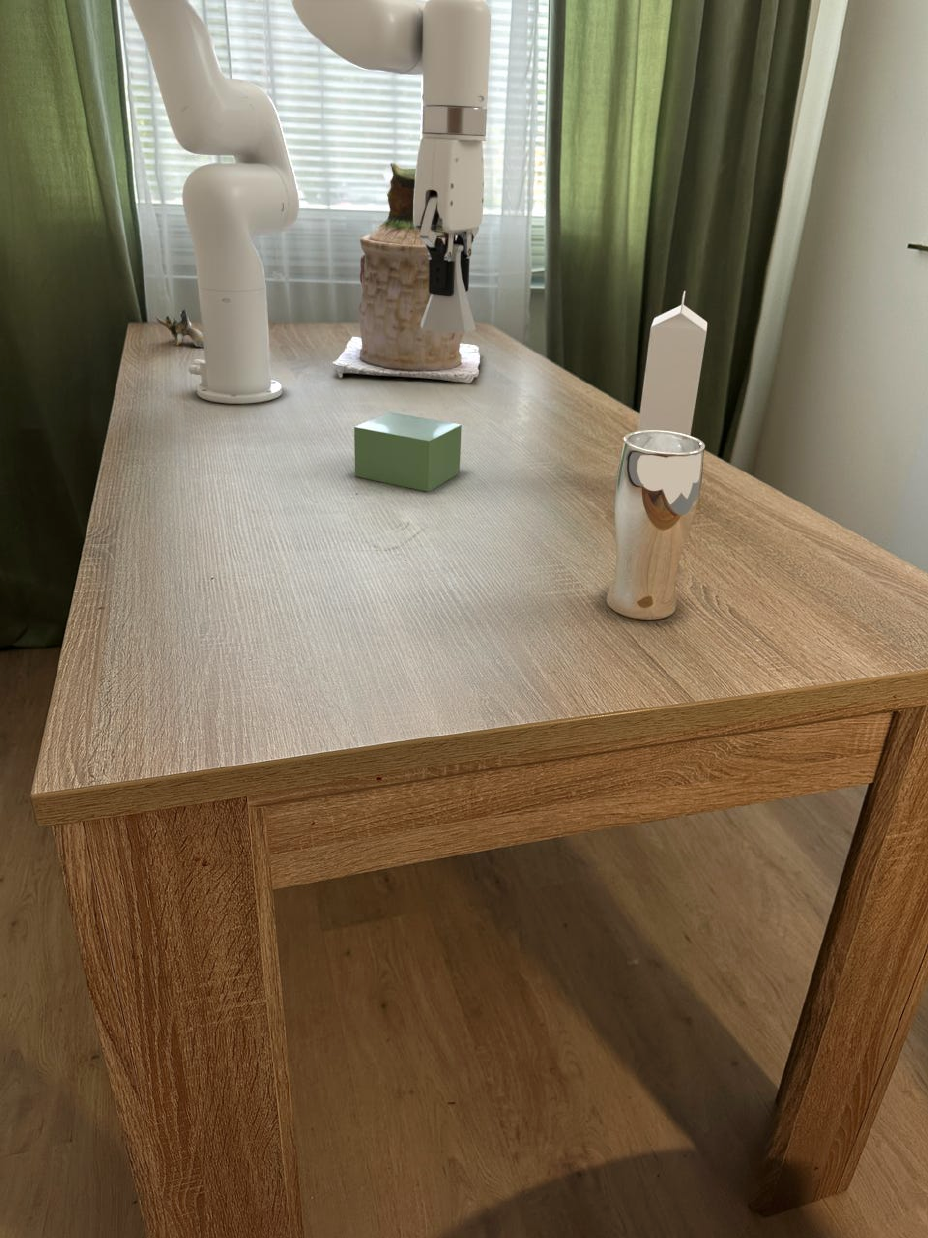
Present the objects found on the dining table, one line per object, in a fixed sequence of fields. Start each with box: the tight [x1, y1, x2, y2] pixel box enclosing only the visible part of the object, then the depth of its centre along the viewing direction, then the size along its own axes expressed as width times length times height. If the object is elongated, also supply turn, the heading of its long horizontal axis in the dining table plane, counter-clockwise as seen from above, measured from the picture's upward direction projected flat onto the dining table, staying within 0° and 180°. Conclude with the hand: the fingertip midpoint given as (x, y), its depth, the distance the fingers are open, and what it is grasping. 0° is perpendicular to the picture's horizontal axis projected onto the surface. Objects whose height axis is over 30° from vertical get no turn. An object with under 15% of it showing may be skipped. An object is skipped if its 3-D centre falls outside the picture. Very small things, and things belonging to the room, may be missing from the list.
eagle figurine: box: [155, 308, 204, 349], centre depth 170 cm, size 8×7×9 cm
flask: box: [420, 244, 477, 334], centre depth 114 cm, size 7×7×10 cm
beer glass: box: [606, 430, 706, 621], centre depth 79 cm, size 7×7×15 cm
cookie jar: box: [332, 162, 482, 384], centre depth 155 cm, size 25×25×32 cm
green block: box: [353, 411, 463, 493], centre depth 109 cm, size 10×8×6 cm
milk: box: [637, 290, 708, 436], centre depth 106 cm, size 6×6×22 cm
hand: (448, 291), depth 115 cm, fingers closed on flask, 3 cm apart
